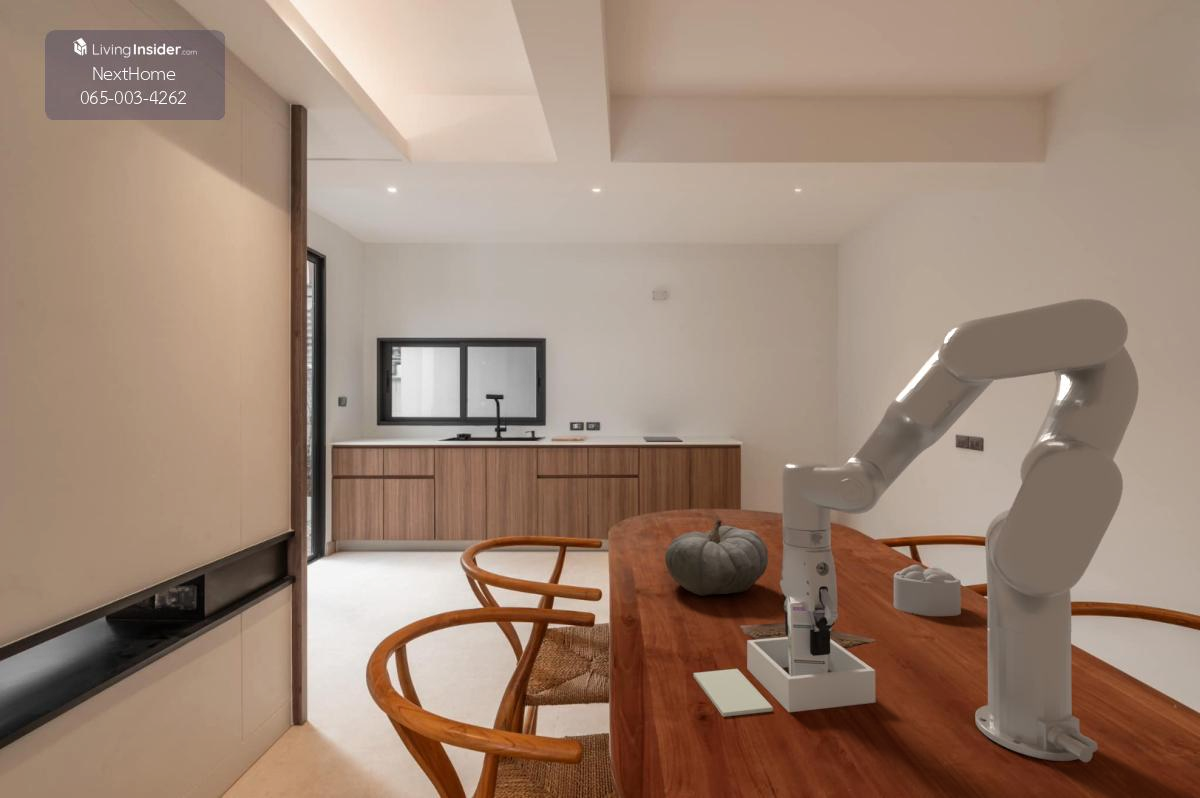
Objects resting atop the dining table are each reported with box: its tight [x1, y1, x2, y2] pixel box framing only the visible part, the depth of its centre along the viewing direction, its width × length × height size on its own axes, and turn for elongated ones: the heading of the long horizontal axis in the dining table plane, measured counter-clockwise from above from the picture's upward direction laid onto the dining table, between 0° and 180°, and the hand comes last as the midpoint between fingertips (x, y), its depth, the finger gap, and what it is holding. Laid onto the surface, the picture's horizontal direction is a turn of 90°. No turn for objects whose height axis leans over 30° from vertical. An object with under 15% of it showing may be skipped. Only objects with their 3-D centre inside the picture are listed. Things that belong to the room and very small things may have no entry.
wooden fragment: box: [739, 622, 877, 649], centre depth 118 cm, size 26×11×1 cm, turn 73°
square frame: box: [746, 637, 876, 713], centre depth 98 cm, size 15×15×5 cm
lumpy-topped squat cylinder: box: [893, 564, 962, 617], centre depth 133 cm, size 10×13×9 cm
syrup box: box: [787, 596, 829, 676], centre depth 98 cm, size 6×6×14 cm
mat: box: [692, 668, 774, 718], centre depth 95 cm, size 13×8×1 cm, turn 11°
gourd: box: [664, 519, 769, 596], centre depth 147 cm, size 25×25×17 cm
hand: (806, 643), depth 98 cm, fingers closed on syrup box, 7 cm apart
